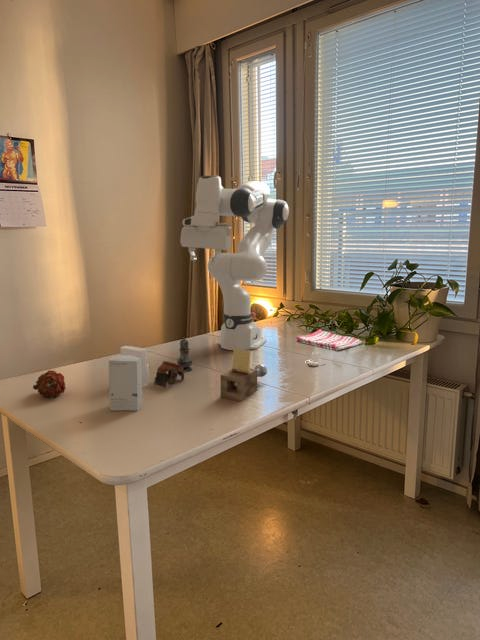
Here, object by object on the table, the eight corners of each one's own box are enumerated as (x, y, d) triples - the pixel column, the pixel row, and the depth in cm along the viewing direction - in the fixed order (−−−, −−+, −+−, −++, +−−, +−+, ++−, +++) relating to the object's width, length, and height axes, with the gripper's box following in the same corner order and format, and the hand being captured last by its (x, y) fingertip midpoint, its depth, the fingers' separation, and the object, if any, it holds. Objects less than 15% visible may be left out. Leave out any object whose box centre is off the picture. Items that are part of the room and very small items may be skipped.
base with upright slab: (155, 381, 156) (153, 346, 154) (136, 390, 149) (134, 353, 146) (134, 377, 161) (132, 343, 158) (115, 385, 153) (113, 349, 151)
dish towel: (319, 335, 218) (319, 328, 217) (362, 345, 202) (363, 337, 201) (295, 342, 207) (295, 334, 206) (339, 352, 190) (339, 344, 189)
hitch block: (238, 387, 151) (237, 366, 149) (257, 391, 147) (257, 369, 146) (220, 397, 142) (220, 375, 141) (240, 401, 139) (240, 378, 137)
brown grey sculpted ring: (148, 383, 156) (156, 359, 158) (174, 391, 160) (181, 368, 162) (159, 384, 146) (168, 359, 148) (186, 393, 150) (194, 369, 152)
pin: (256, 374, 156) (256, 363, 155) (266, 376, 154) (266, 365, 153) (230, 389, 143) (229, 377, 142) (241, 392, 140) (241, 379, 140)
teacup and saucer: (315, 369, 170) (315, 358, 169) (299, 363, 176) (299, 353, 175) (331, 364, 175) (331, 353, 174) (314, 359, 181) (315, 349, 180)
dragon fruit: (56, 407, 139) (45, 401, 149) (77, 385, 143) (64, 381, 153) (35, 388, 136) (25, 383, 145) (57, 366, 139) (46, 363, 149)
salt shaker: (190, 372, 165) (189, 339, 163) (174, 371, 167) (173, 338, 164) (195, 367, 171) (194, 335, 169) (179, 366, 172) (178, 334, 170)
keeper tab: (231, 371, 144) (233, 370, 145) (247, 374, 141) (249, 373, 142) (233, 348, 143) (235, 348, 144) (249, 351, 141) (251, 351, 141)
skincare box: (109, 411, 132) (106, 360, 129) (115, 403, 138) (112, 354, 135) (139, 411, 132) (136, 360, 129) (143, 403, 138) (141, 354, 135)
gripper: (236, 224, 163) (232, 264, 165) (190, 222, 174) (187, 259, 176) (225, 222, 158) (222, 263, 159) (179, 220, 168) (176, 259, 170)
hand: (203, 261), depth 168 cm, fingers open, 8 cm apart
